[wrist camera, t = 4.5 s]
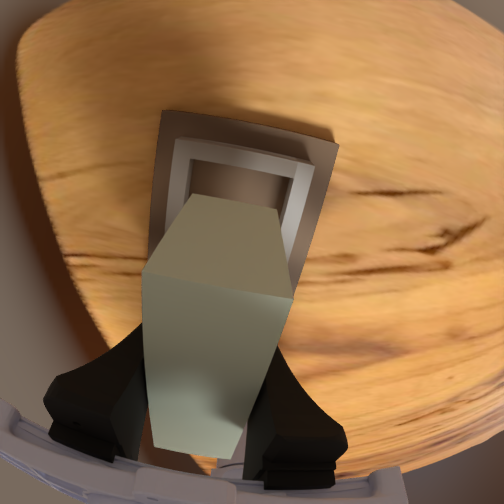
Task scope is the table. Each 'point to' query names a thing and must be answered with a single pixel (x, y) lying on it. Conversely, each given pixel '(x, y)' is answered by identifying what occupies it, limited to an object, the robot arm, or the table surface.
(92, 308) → the table surface
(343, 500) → the robot arm
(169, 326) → the pale green block
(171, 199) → the plate
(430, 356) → the table surface
